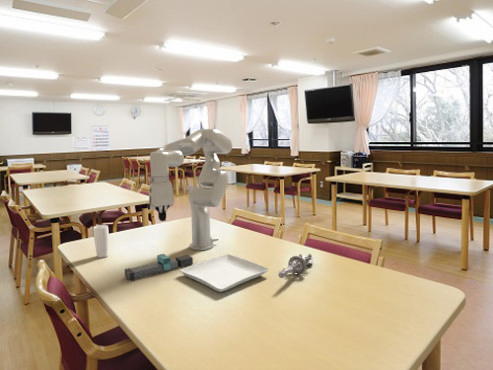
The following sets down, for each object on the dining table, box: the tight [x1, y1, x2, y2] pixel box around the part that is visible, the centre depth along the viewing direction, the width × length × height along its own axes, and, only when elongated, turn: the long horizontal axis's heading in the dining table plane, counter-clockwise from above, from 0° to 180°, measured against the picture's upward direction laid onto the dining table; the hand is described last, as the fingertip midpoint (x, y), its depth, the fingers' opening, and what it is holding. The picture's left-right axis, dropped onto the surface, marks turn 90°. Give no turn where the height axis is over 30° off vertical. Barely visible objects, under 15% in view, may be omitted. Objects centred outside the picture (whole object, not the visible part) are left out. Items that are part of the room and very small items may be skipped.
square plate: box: [179, 253, 270, 293], centre depth 145 cm, size 27×27×4 cm
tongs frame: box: [126, 254, 194, 282], centre depth 151 cm, size 29×6×3 cm, turn 128°
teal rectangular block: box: [156, 253, 171, 270], centre depth 152 cm, size 3×7×5 cm, turn 37°
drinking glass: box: [92, 224, 110, 259], centre depth 169 cm, size 7×7×15 cm
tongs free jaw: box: [124, 257, 176, 279], centre depth 150 cm, size 22×3×3 cm, turn 128°
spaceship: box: [277, 253, 314, 279], centre depth 146 cm, size 8×35×8 cm
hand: (162, 220), depth 156 cm, fingers closed
